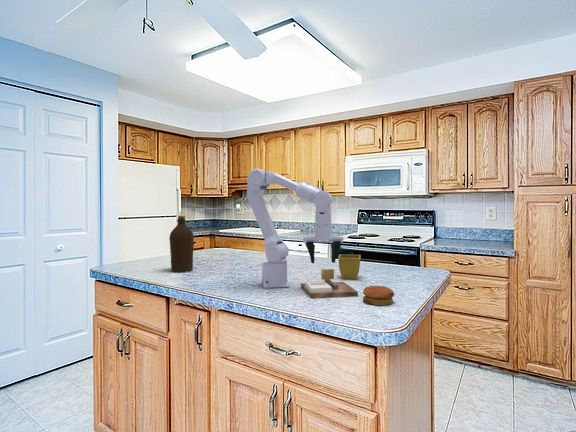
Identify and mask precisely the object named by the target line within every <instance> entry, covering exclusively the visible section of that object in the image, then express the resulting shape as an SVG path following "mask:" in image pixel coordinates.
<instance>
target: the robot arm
mask: <svg viewBox="0 0 576 432" xmlns="http://www.w3.org/2000/svg"><path fill="white" fill-rule="evenodd" d="M246 180H247V181H246V182H247V187H246V198H247V201H248V203H249V205H250V207H251V210H252V212H253V215H254V217H255V219H256V221H257V224H258V226H259V229H260V231H261V234H262V236H263V239H264V243H263V245H264V248H265V257H266V259H267V261H266V262H262V263H261V284H262V286H263V288H264V289H269V288H270V289H272V288H290V287H291V286H290V284H289V283H288V259H287V258H286V257H287V256H288V255H289V251H290V250H289V247H288V245H287V244H286V243H284V241H283V239H282V238H281V236H280V235H279V233H278V232H277V230H276V227H275V224H274V223H273V221H272V218H271V215H270V213H269V211H268V208H267V206H266V203H265V201H264V199H263V195H264V193H265V191H266V189H267V188H268V187H269V186H270V185H279V186H281V187H284V188H286V189H288V190H291V191H293V192H294V193H295V195H296V196H297V198H301V200H305V201H307V202H308V203H311V204H314V205H315V212H314V213H315V215H314V217H315V218H314V219H315V220H314V222H315V224H314V227H315V228H314V230H315V231H314V235H315V236H303V237H302V243H303V244H304V245H305V247H306V248H307V251H308V255H309V258H310V263H311V264H315V260H316V259H315V248H316V245H315V244H316V243H330V247H331V248H330V249H331V261H330V262H331V263H333V264H334V263H336V259H337V256H338V253H339V250H340V248H341V247H342V243H344V236H332V206H331V204H332V203H333V197H332V194H331V193H330V192H328V191H326V190H323V188H322V187H317V186H314V185H311V183H310V182H309V181H306V182H305V181H302V182H299V183H298V182H297V181H293V180H292V179H289V178H287V177H285V176H283V175H281V174H279V173H277V172H272V171H269V170H265V169H261V168H259V167H258V168H257V167H256V168H253V169H252V170H251V171H249V173H248V175H247V178H246ZM322 190H323V191H322Z"/></svg>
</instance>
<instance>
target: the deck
mask: <svg viewBox="0 0 576 432" xmlns="http://www.w3.org/2000/svg"><path fill="white" fill-rule="evenodd" d="M332 282H333V283H335V284H337V285H338V289H334V288H332V292H321V293H311V292H310V291H309V290H308V289H307V288H306V287H305V282H304V283H301V284H300V288H301V289H302V290H303V292H304V293H305V294H306V295H307V296H308V297H309V298H310V299H327V298H345V297H358V296H359V293H358V290H356V289H355V288H353V287H352V286H350V285H349V284H347V283H346V282H344V281H332Z"/></svg>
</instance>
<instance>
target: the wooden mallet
mask: <svg viewBox="0 0 576 432" xmlns="http://www.w3.org/2000/svg"><path fill="white" fill-rule="evenodd" d="M320 279H321V281H325V282H326V283H327V284H328V285H330V286H331V287H332V288H334V289H338V285H337V284H335V283H333V282H334V281H332V280H335V269H333V268H324V269H321V268H320Z"/></svg>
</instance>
